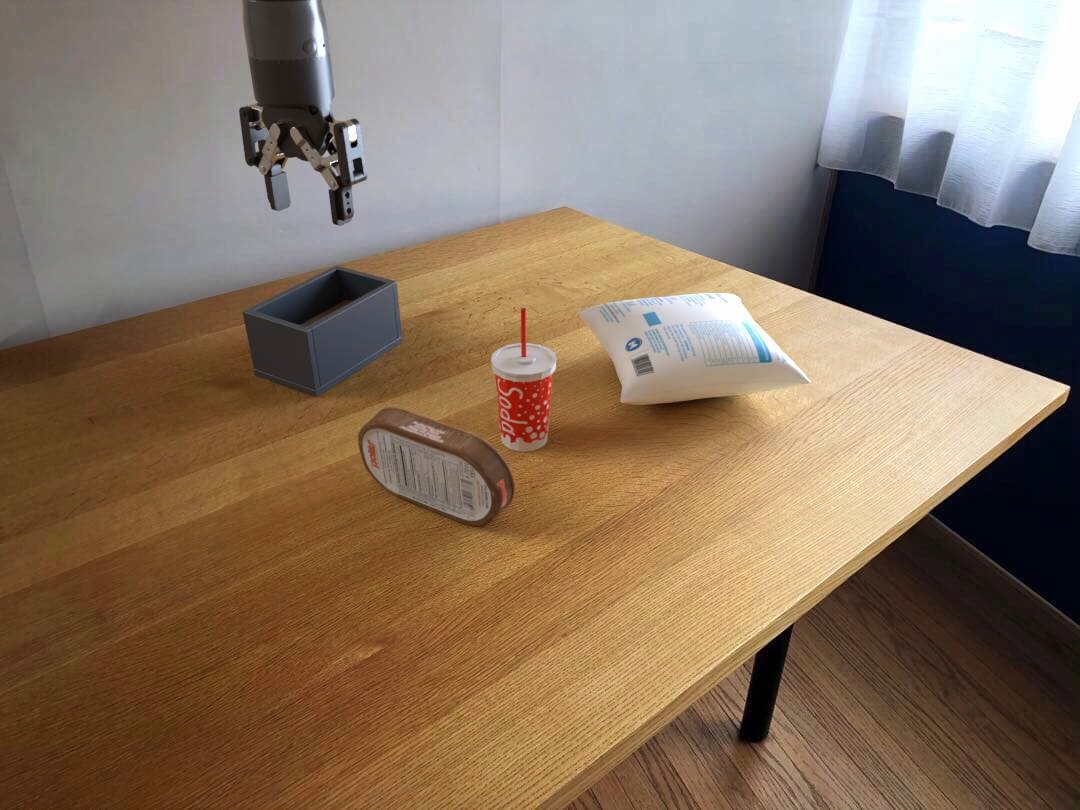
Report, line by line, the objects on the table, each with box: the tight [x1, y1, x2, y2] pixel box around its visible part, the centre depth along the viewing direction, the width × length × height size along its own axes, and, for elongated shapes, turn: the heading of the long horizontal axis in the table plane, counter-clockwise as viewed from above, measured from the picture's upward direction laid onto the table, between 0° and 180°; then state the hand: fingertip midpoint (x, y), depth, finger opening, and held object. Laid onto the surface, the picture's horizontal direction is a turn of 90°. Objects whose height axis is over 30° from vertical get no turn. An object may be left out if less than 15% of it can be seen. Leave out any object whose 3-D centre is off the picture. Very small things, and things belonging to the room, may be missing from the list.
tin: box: [357, 406, 516, 527], centre depth 73 cm, size 15×3×8 cm, turn 59°
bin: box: [242, 265, 403, 398], centre depth 96 cm, size 15×9×8 cm, turn 149°
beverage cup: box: [490, 307, 557, 452], centre depth 81 cm, size 6×6×14 cm
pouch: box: [576, 292, 812, 406], centre depth 93 cm, size 8×19×20 cm
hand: (311, 215), depth 89 cm, fingers open, 8 cm apart
